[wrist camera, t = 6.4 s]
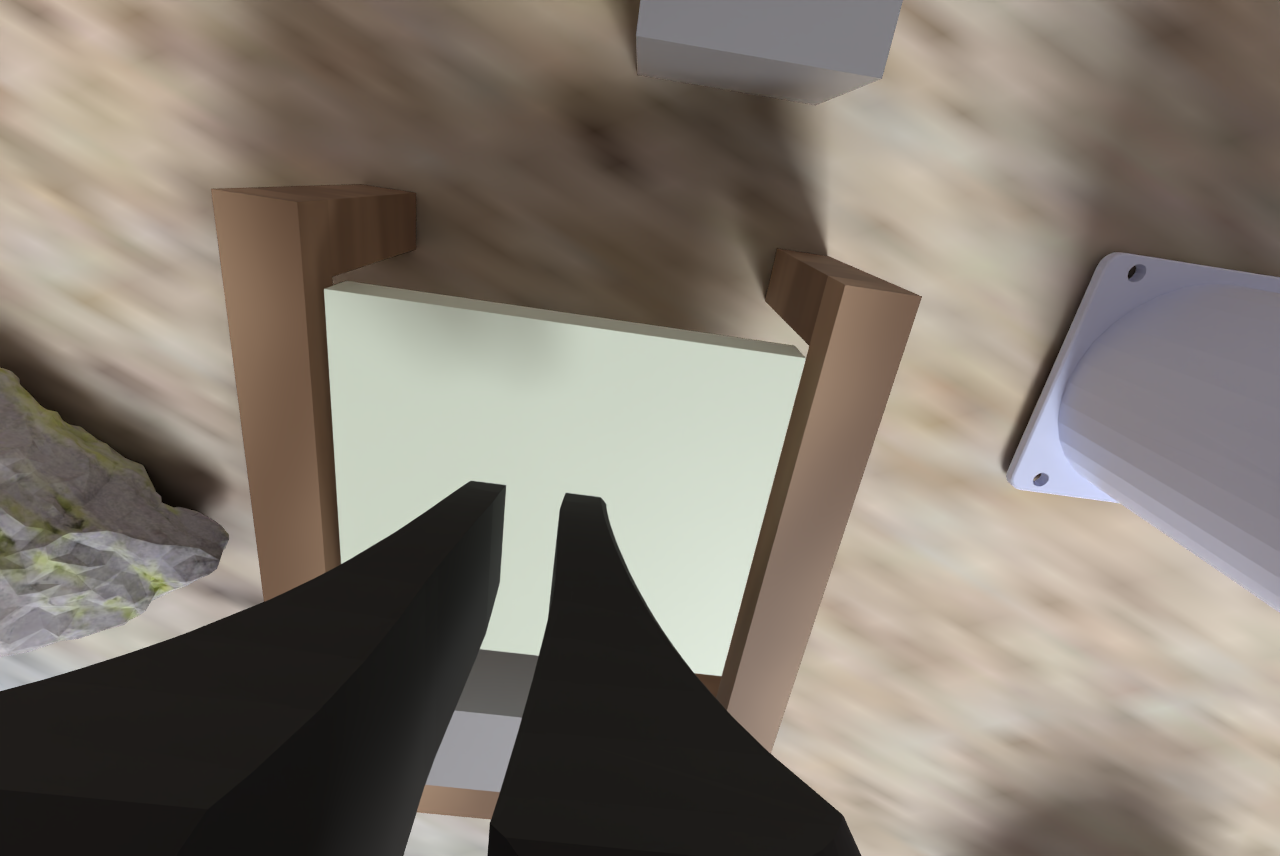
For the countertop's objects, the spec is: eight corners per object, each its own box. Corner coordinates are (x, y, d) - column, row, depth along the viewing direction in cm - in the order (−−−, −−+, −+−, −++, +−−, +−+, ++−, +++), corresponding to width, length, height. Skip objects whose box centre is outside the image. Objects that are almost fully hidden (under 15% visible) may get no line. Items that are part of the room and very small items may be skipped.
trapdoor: (687, 738, 19) (693, 811, 17) (377, 705, 19) (341, 776, 17) (787, 338, 14) (815, 368, 12) (360, 275, 14) (306, 295, 11)
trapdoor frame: (828, 256, 18) (922, 296, 12) (716, 682, 25) (741, 843, 19) (360, 184, 17) (211, 189, 11) (377, 644, 24) (289, 799, 18)
